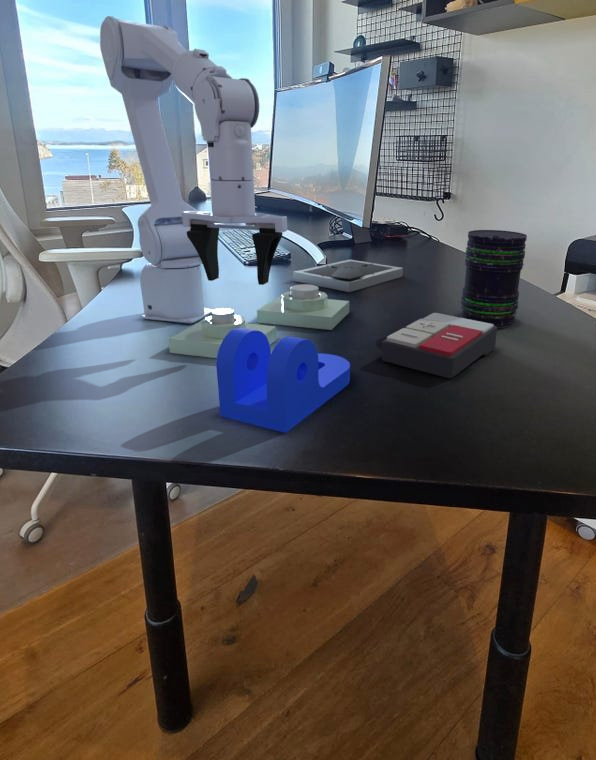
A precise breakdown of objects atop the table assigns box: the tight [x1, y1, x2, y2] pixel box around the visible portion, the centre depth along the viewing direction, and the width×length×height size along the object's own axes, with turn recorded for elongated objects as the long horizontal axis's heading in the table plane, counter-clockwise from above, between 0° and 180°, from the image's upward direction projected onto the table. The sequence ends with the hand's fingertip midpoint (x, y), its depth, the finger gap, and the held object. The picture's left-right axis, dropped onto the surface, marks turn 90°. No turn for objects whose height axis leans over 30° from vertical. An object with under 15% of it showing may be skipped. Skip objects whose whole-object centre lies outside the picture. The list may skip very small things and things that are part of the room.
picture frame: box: [292, 259, 404, 293], centre depth 125 cm, size 16×3×21 cm
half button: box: [210, 307, 235, 324], centre depth 79 cm, size 3×3×2 cm
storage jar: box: [459, 229, 528, 329], centre depth 94 cm, size 10×10×15 cm
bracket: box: [215, 328, 351, 434], centre depth 64 cm, size 18×8×9 cm, turn 155°
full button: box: [289, 283, 320, 299], centre depth 94 cm, size 5×5×2 cm
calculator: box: [381, 312, 498, 379], centre depth 79 cm, size 11×4×15 cm
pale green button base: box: [167, 314, 277, 359], centre depth 80 cm, size 12×10×4 cm
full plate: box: [256, 290, 350, 331], centre depth 95 cm, size 13×11×4 cm
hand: (238, 281), depth 78 cm, fingers open, 7 cm apart
